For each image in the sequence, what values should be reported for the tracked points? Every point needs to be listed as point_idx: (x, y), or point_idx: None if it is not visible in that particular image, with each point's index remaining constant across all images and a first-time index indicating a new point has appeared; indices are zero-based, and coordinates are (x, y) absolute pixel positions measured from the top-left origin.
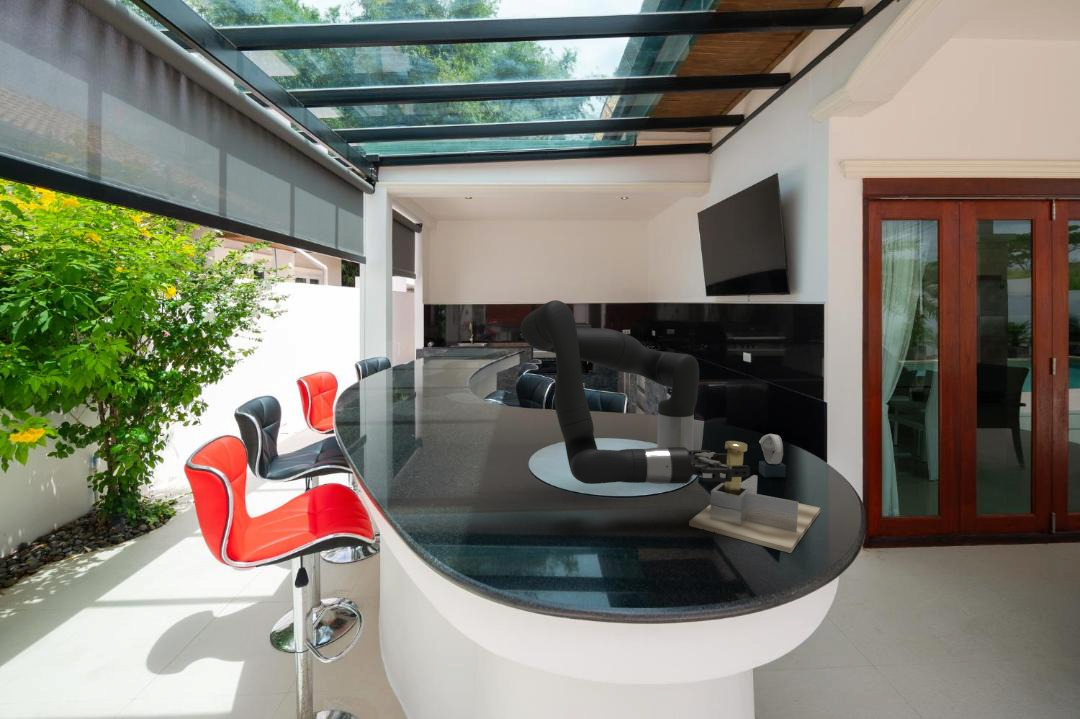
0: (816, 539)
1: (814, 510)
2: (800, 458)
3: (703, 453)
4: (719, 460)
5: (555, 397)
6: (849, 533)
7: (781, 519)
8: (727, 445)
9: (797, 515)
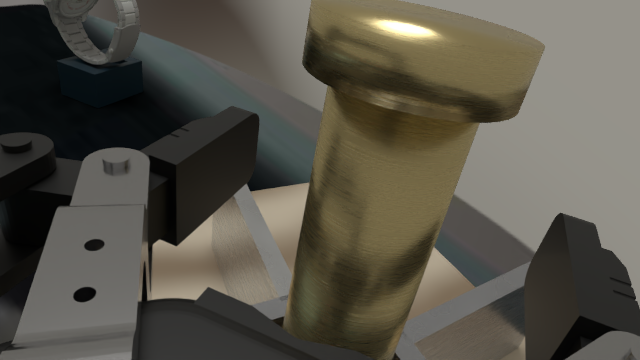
0: None
1: None
2: (102, 29)
3: (81, 265)
4: (190, 207)
5: None
6: (495, 233)
7: (499, 344)
8: (439, 62)
9: None
